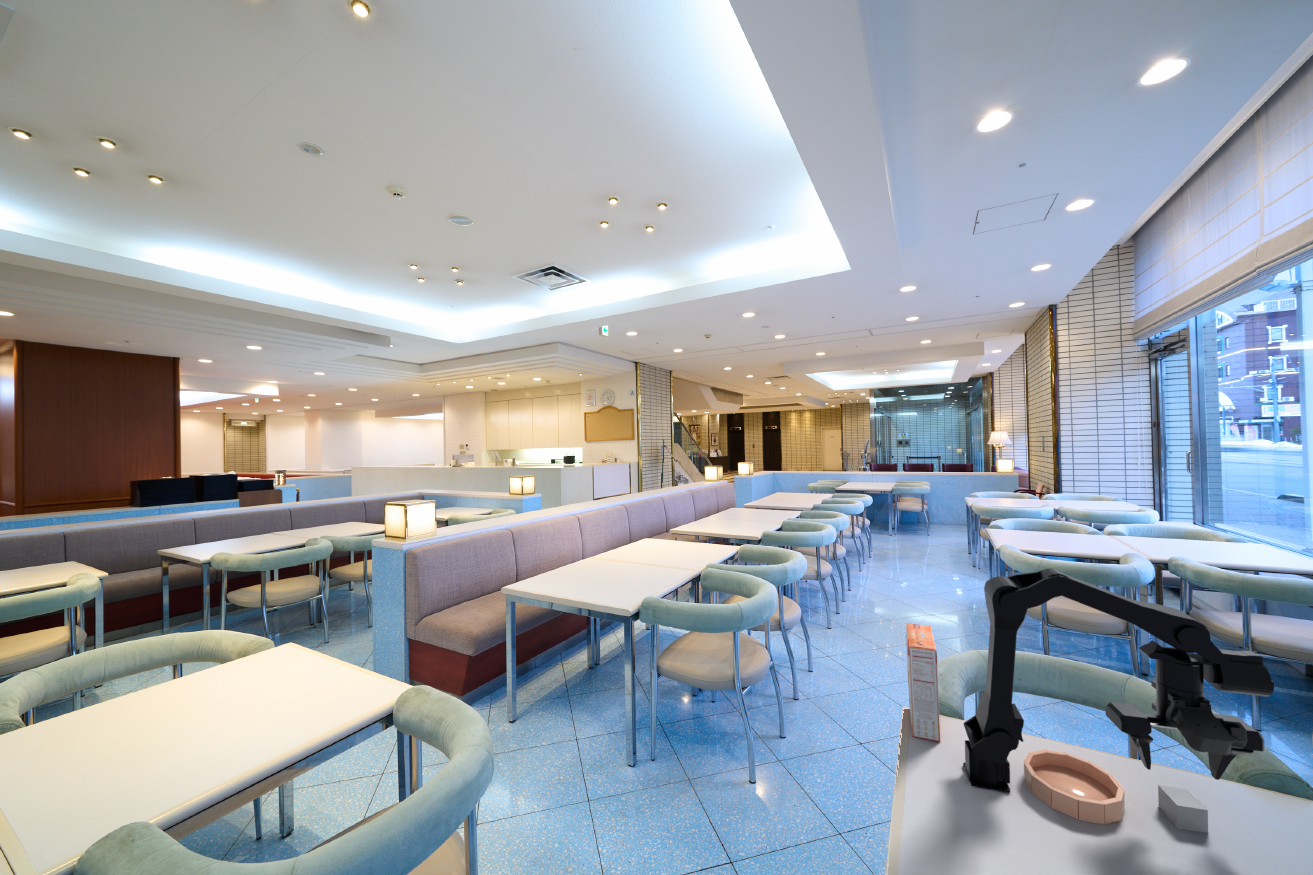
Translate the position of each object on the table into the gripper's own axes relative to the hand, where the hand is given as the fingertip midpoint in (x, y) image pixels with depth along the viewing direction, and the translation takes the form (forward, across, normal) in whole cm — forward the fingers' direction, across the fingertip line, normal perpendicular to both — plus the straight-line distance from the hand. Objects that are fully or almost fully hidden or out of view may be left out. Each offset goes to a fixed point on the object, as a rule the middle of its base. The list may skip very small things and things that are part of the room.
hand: (1180, 772), depth 85 cm
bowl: (+8, -15, +2) cm, 17 cm away
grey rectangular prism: (+8, 0, 0) cm, 8 cm away
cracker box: (+8, -37, +19) cm, 42 cm away
